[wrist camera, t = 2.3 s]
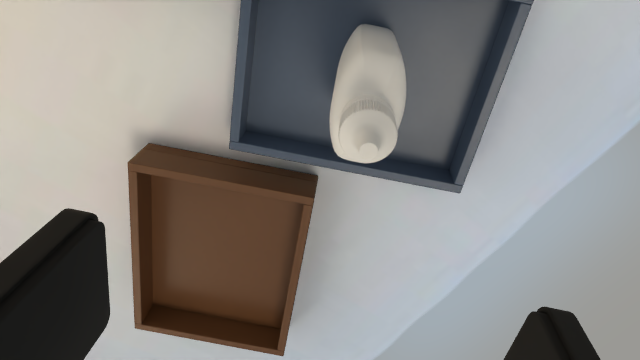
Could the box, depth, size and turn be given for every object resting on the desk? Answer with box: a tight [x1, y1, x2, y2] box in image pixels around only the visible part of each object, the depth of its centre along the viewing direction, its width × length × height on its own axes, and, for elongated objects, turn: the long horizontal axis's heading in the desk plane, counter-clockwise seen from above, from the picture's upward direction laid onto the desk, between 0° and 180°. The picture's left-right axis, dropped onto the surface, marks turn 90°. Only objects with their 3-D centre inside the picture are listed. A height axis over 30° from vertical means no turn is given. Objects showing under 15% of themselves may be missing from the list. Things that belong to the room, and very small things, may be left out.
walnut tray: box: [128, 143, 318, 356], centre depth 33 cm, size 15×12×3 cm
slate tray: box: [229, 0, 534, 193], centre depth 26 cm, size 12×15×2 cm
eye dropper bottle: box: [330, 24, 406, 163], centre depth 22 cm, size 4×6×12 cm
